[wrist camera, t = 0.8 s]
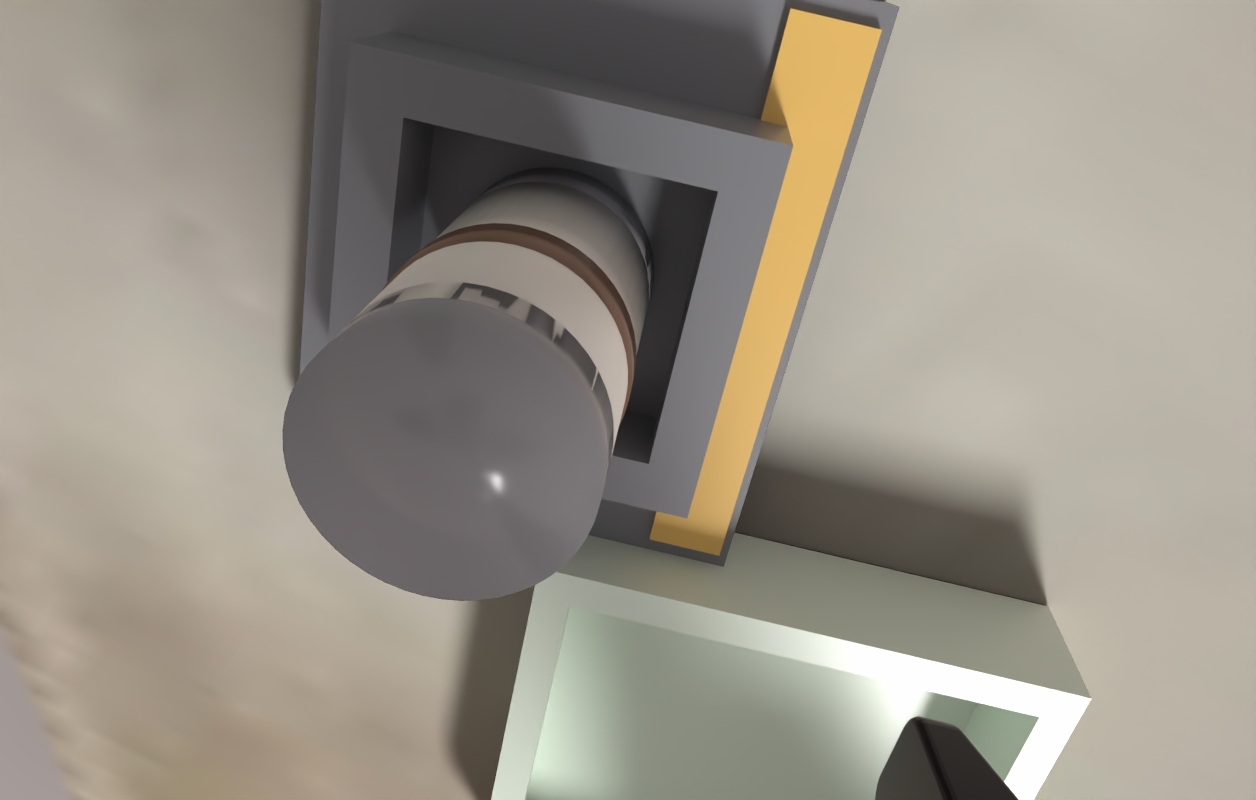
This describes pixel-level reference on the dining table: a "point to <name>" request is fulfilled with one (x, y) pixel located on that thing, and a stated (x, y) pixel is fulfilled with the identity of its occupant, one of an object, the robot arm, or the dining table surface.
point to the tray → (770, 677)
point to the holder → (630, 165)
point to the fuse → (479, 393)
